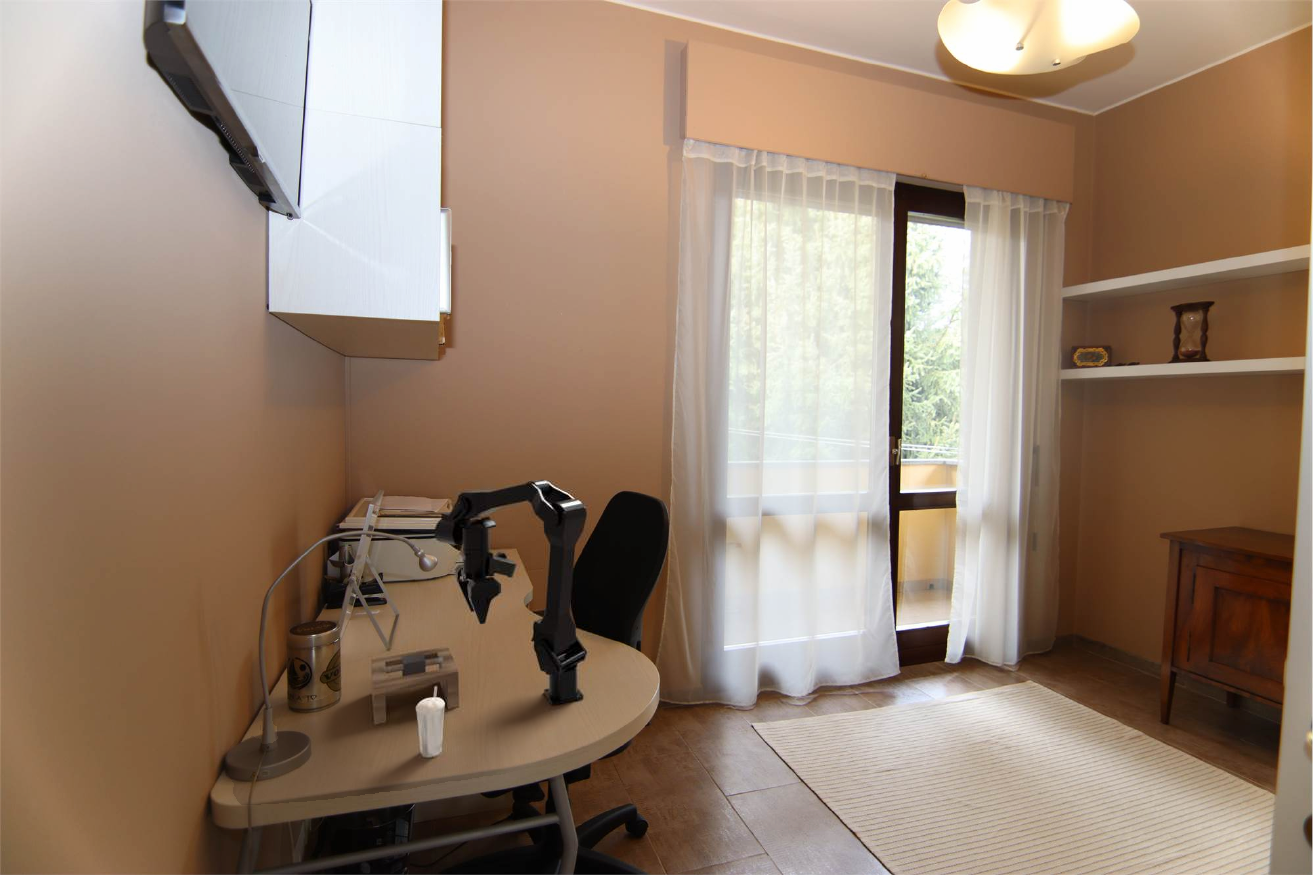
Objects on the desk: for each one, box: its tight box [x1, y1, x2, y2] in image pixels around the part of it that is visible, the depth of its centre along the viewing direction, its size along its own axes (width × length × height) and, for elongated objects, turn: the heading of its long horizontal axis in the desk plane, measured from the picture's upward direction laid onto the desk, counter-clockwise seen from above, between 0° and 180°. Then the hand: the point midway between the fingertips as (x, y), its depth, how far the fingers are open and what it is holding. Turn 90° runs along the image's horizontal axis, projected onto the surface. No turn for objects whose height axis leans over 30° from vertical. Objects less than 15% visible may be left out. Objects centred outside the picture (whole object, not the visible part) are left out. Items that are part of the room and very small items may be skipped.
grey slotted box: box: [401, 653, 427, 677], centre depth 122 cm, size 4×4×5 cm
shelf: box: [370, 645, 460, 726], centre depth 122 cm, size 14×15×8 cm
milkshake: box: [415, 685, 446, 758], centre depth 104 cm, size 5×5×10 cm
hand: (477, 617), depth 135 cm, fingers open, 9 cm apart
